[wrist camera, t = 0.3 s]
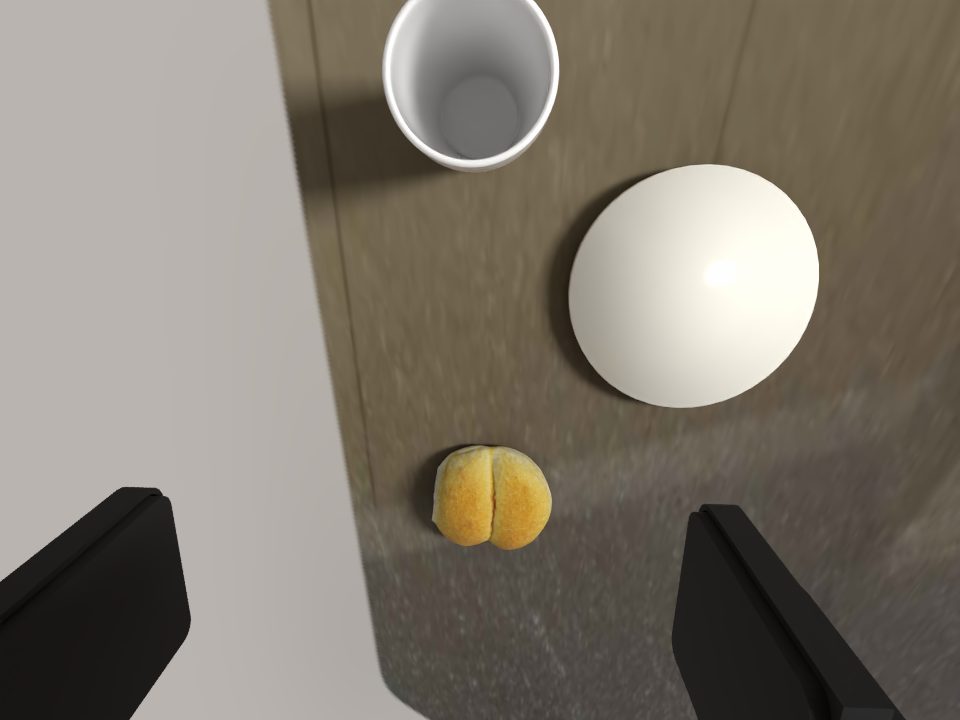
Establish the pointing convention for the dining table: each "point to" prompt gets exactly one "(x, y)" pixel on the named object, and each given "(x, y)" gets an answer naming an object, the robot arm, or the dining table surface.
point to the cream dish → (693, 285)
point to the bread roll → (490, 497)
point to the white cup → (471, 79)
